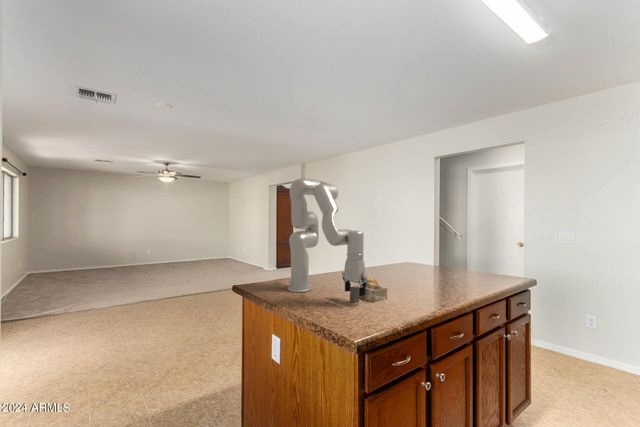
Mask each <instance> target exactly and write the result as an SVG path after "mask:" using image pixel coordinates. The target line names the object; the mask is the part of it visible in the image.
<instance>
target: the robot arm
mask: <svg viewBox="0 0 640 427" xmlns="http://www.w3.org/2000/svg"><path fill="white" fill-rule="evenodd" d="M306 195H307V196H313V197H314V199H315V201H316V203H317V205H318V207H319V210H320V211H321V215H322V218H321V229H322V230H321V231H322V232H323V234H324V237H325V238H326V241H327V242H328V243H329V244H330V245H331V246H333V247H337V246H346V245H347V249H346V250H347V252H346V259H345V262H344V268H343V269H344V271H342V272H341V276H342V281H343V283H344V292H350V287H352V286H351V285H352V284H351V283H356V284H358V285H360V287H359V296H365V287H366V286H367V285H368V282H369V278H368V277H369V276H367V275H366V267H365V261H364V245H365V244H364V240H365V238H364V237H365V236H364V232H363V231H362V230H351V229H348V228H347V229H345V228H344V229H343V228H342V229H337V227H336V225H335V222H334V215H336V214H337V212H339V206H338V204H337V203H336V200H337V198H338V197H339V191H338V188H337V187H336V186H335V185H334V184H332V183H328V182H324V181H321V180H319V179H312V178H297V179H295V180H294V181H292V182H291V185H290V187H289V196H290V205H291V207H290V208H291V209H290V210H291V211H290V212H291V225H292V227H293V228H294V229H298V230H299V231H295V232H292V233H291V235H290V236H289V240H288V241H289V248H290V280H289V281H288V284H289V286H288V287H287V291H289V292H291V293H306V292H307V293H308V292H310V291H311V290H312V286H310V285H309V254H308V251H307V249H310V248H314V247H316V246H317V245H318V244H319V239H320V237H319V236H320V235H319V234H320V233H319V218H318V216H317V214H316V213H315V212H313V211H309V210H308V203H307V202H308V201H307V200H306V198H305V196H306ZM300 229H302V230H300ZM303 229H304V230H303ZM364 281H365V282H364Z"/></svg>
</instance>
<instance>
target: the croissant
mask: <svg viewBox="0 0 640 427" xmlns="http://www.w3.org/2000/svg"><path fill="white" fill-rule="evenodd" d="M367 277H368V278H369V282H368V283H370V284H374V285H378V286H380V285H379V283H378V282H377V280H376V279H374V278H372V277H369V276H367ZM364 282H365V281H364Z"/></svg>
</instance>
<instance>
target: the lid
mask: <svg viewBox="0 0 640 427" xmlns="http://www.w3.org/2000/svg"><path fill="white" fill-rule="evenodd" d="M349 302H350V303H353V304H357V303H359V302H360V298H359V287H357V286H356V285H355V286H351V287H350V291H349Z"/></svg>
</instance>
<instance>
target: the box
mask: <svg viewBox="0 0 640 427" xmlns="http://www.w3.org/2000/svg"><path fill="white" fill-rule="evenodd" d="M378 285H379V284H378ZM378 285H374V284H370V283H368V285H367V286H366V287H365V296H359V299H363V300H366V301H369V302H372V303H379V302H382V301H385V300H388V287H384V286H381V285H379V286H378ZM356 287H360V285H359V284H358V285H356Z"/></svg>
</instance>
